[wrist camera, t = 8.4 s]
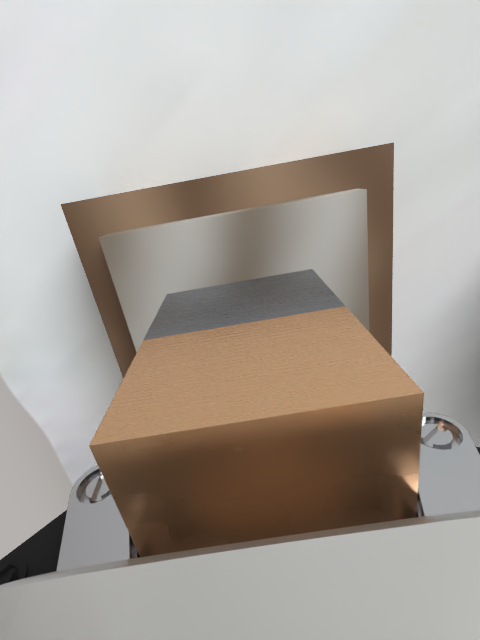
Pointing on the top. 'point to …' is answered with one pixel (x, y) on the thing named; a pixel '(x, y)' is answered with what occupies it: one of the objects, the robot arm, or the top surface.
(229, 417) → the block
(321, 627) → the robot arm
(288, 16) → the top surface
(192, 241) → the walnut stand
